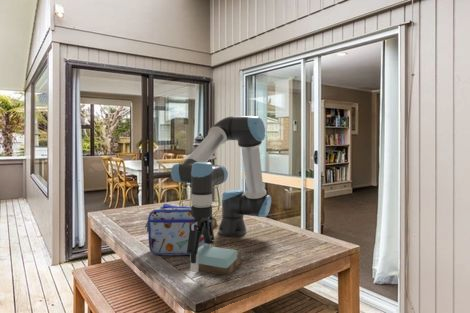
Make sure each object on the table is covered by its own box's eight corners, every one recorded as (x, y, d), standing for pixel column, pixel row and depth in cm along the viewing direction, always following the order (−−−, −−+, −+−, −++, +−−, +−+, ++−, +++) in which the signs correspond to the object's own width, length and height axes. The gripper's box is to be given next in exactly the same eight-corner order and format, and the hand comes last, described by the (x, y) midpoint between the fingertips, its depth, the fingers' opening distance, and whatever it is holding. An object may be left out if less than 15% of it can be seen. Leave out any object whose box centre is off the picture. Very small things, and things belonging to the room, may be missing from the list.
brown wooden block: (213, 257, 141) (213, 246, 140) (241, 262, 136) (241, 250, 136) (198, 270, 128) (198, 257, 127) (228, 275, 123) (228, 262, 123)
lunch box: (143, 257, 140) (143, 207, 139) (149, 248, 151) (148, 202, 149) (206, 257, 141) (207, 207, 140) (208, 248, 152) (208, 202, 150)
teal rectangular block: (237, 258, 118) (237, 250, 117) (226, 268, 109) (227, 259, 108) (202, 253, 123) (202, 245, 122) (190, 262, 114) (190, 253, 113)
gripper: (206, 198, 128) (205, 254, 129) (176, 210, 107) (176, 276, 109) (223, 200, 125) (222, 256, 127) (196, 212, 104) (195, 280, 106)
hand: (201, 265), depth 118 cm, fingers closed on teal rectangular block, 10 cm apart
